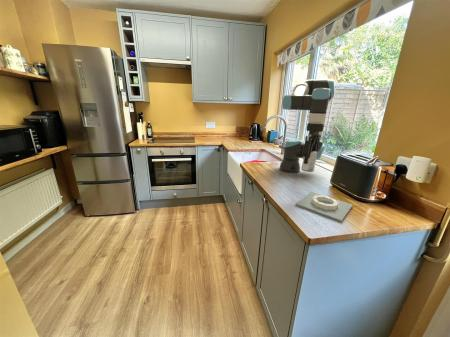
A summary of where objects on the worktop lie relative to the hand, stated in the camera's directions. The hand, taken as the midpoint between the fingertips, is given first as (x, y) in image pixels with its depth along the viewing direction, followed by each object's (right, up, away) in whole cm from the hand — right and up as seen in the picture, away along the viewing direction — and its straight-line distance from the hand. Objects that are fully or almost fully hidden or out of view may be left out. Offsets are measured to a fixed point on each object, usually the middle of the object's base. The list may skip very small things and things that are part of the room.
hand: (307, 168), depth 98 cm
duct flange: (+5, -18, -6) cm, 20 cm away
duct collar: (0, -1, 0) cm, 1 cm away
